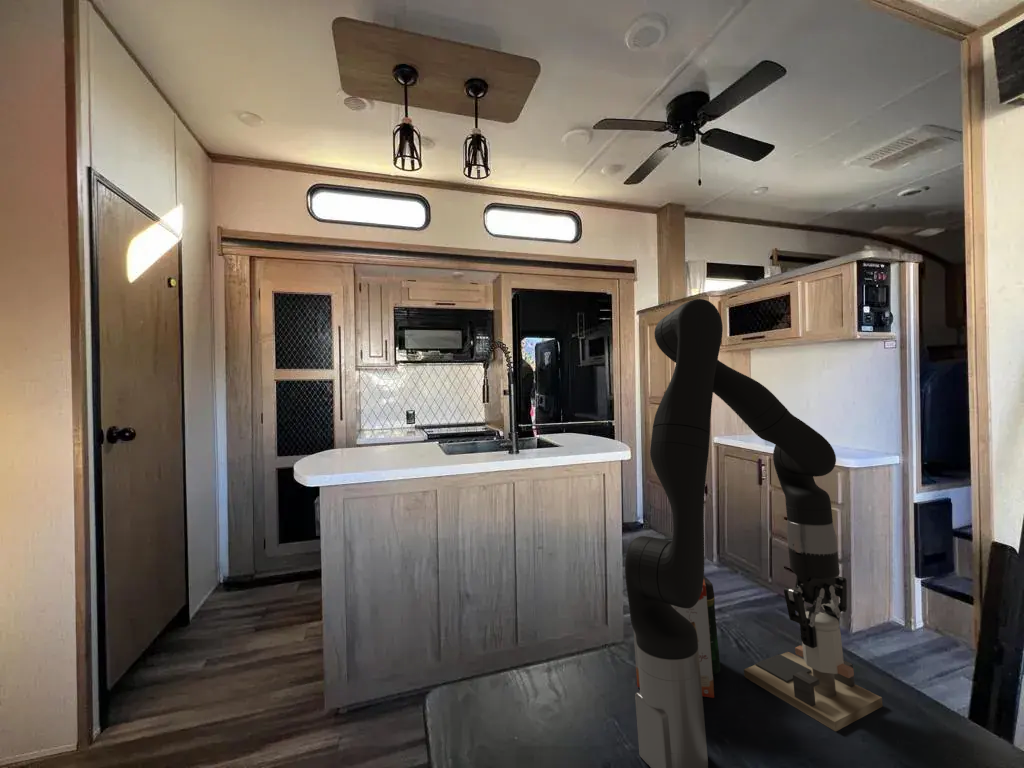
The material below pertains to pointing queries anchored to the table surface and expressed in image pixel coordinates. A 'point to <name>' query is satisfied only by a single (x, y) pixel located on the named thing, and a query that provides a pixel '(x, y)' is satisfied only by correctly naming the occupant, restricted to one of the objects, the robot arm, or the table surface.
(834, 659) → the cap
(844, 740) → the table surface
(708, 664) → the cracker box
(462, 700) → the table surface
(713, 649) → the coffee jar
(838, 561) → the robot arm
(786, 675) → the mat
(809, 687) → the bulb mounting plate
